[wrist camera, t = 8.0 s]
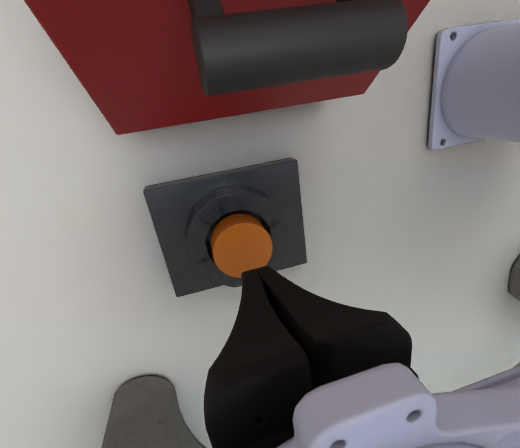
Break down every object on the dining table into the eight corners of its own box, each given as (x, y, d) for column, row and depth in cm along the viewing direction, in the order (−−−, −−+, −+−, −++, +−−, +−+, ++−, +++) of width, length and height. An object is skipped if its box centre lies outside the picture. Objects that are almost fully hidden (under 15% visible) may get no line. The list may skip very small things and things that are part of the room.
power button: (261, 207, 18) (268, 216, 17) (268, 256, 20) (276, 269, 18) (204, 220, 18) (206, 231, 16) (216, 270, 19) (219, 284, 18)
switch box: (291, 157, 20) (308, 164, 18) (301, 256, 24) (316, 274, 21) (145, 186, 19) (138, 199, 16) (176, 288, 22) (176, 313, 19)
